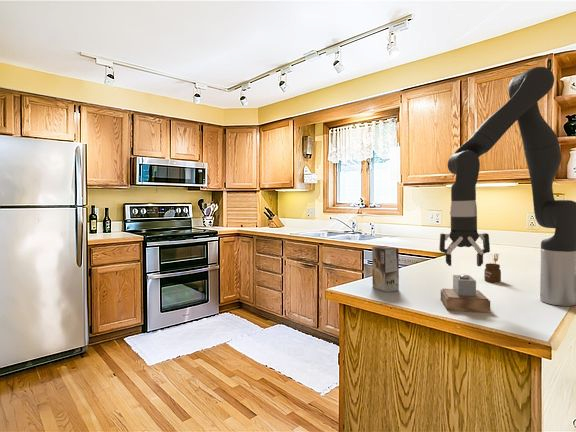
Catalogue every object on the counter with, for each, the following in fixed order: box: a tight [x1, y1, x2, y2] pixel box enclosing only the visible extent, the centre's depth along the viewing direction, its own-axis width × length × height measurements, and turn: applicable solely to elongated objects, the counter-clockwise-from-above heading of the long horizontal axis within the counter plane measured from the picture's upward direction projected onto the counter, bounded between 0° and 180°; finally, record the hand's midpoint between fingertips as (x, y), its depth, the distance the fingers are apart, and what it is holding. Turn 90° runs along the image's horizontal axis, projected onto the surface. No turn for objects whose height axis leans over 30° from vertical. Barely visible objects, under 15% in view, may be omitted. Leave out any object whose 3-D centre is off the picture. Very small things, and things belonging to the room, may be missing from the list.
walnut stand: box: [440, 288, 491, 314], centre depth 113 cm, size 12×12×4 cm
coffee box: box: [371, 245, 400, 293], centre depth 136 cm, size 9×6×16 cm
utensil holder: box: [483, 253, 502, 284], centre depth 146 cm, size 6×6×12 cm
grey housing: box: [452, 274, 477, 297], centre depth 113 cm, size 8×5×6 cm, turn 166°
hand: (464, 265), depth 113 cm, fingers open, 8 cm apart
